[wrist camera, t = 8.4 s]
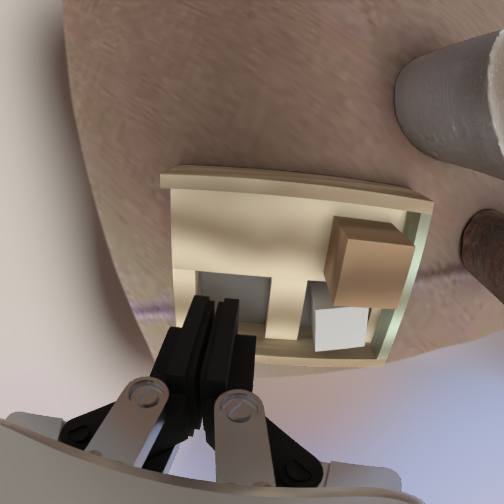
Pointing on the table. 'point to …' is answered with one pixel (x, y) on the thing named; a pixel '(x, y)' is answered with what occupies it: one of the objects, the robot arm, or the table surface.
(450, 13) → the table surface
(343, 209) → the tray
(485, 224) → the brown wooden cylinder
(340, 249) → the walnut block
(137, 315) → the table surface
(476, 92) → the pillar candle
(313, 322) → the trapped grey block
